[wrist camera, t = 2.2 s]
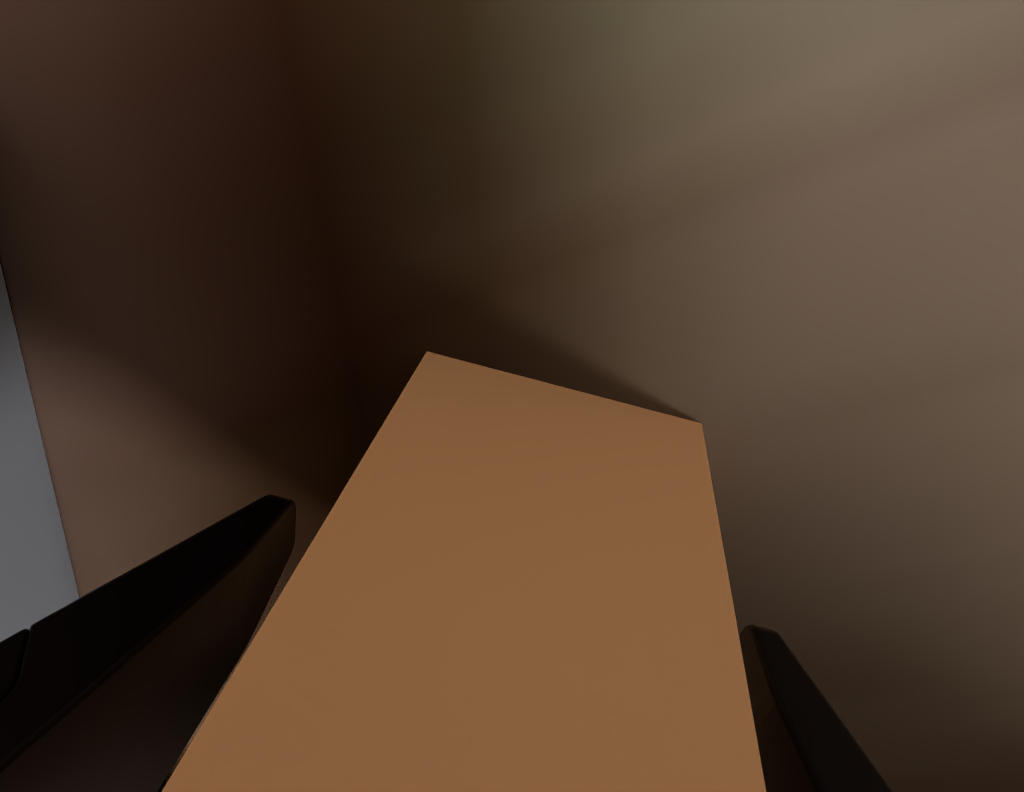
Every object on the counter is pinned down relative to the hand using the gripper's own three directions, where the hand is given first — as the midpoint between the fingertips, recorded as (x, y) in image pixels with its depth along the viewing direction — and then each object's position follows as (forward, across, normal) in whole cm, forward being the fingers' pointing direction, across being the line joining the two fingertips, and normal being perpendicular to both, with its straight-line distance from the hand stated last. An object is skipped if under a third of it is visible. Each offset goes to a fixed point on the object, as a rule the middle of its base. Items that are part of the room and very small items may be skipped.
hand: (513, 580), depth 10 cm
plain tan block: (+2, 0, 0) cm, 2 cm away
